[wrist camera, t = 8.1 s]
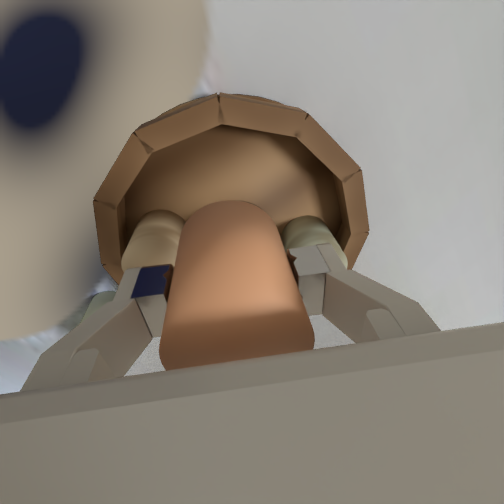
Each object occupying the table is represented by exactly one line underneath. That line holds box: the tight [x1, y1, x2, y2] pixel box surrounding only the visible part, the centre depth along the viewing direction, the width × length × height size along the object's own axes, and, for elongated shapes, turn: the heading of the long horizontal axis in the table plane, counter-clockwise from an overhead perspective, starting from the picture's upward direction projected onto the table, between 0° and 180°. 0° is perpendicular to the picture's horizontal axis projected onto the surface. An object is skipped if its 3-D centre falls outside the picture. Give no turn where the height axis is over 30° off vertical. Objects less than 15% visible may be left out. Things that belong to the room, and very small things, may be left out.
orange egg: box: [159, 200, 315, 371], centre depth 9 cm, size 4×4×5 cm
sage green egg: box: [80, 291, 116, 323], centre depth 26 cm, size 4×4×5 cm
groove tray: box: [93, 92, 369, 285], centre depth 22 cm, size 20×20×6 cm
